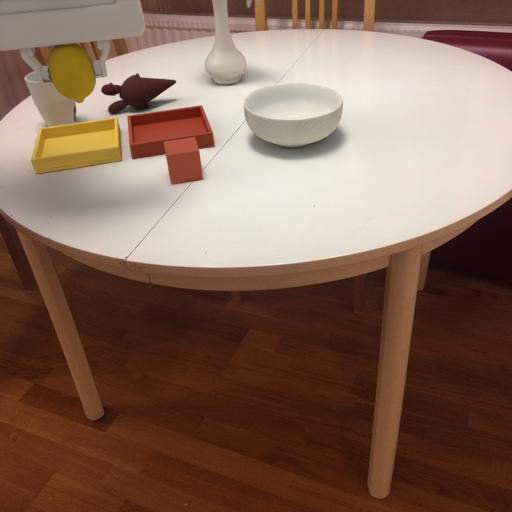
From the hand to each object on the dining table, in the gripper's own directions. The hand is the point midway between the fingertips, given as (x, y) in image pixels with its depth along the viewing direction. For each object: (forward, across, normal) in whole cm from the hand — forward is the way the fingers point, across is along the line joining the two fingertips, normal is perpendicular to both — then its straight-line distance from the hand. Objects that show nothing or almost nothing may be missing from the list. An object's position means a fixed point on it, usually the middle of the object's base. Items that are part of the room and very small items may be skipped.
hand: (73, 79), depth 67 cm
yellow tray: (+19, +5, -20) cm, 28 cm away
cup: (+19, +9, -33) cm, 39 cm away
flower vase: (+18, -27, -46) cm, 57 cm away
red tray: (+18, -11, -20) cm, 29 cm away
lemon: (+3, 0, 0) cm, 3 cm away
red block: (+18, -12, -5) cm, 23 cm away
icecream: (+19, -7, -37) cm, 42 cm away
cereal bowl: (+18, -32, -12) cm, 39 cm away
